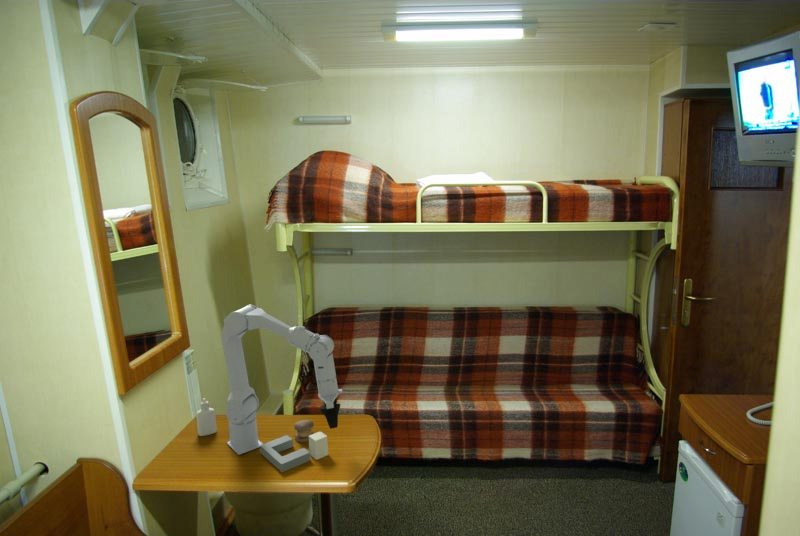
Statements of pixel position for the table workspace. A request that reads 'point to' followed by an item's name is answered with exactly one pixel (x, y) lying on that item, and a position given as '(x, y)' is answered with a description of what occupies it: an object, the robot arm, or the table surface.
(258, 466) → the table surface
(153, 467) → the table surface
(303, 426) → the brown knob
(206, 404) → the eye dropper bottle
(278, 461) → the notched board
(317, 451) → the block
